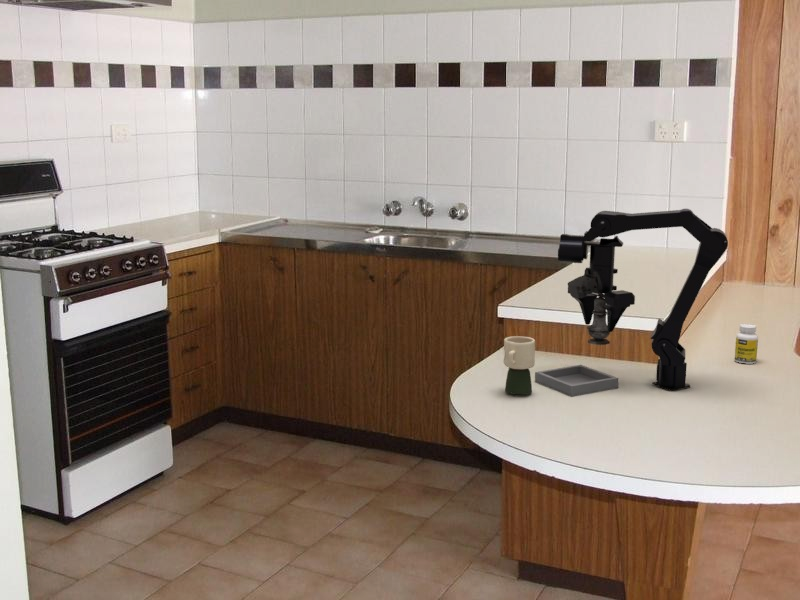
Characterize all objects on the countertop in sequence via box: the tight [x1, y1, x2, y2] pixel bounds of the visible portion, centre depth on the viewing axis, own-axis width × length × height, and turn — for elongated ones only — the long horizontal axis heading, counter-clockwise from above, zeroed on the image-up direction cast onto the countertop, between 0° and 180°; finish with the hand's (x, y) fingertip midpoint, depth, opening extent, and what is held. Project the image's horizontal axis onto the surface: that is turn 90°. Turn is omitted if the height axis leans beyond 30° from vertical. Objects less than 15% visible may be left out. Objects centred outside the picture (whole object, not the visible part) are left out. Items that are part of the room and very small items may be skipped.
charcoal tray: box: [534, 364, 620, 398], centre depth 224 cm, size 14×14×2 cm
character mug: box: [503, 335, 536, 396], centre depth 216 cm, size 11×7×13 cm, turn 149°
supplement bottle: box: [734, 323, 759, 365], centre depth 243 cm, size 5×5×10 cm
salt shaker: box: [586, 296, 611, 346], centre depth 225 cm, size 6×6×12 cm
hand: (598, 328), depth 225 cm, fingers closed on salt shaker, 8 cm apart
